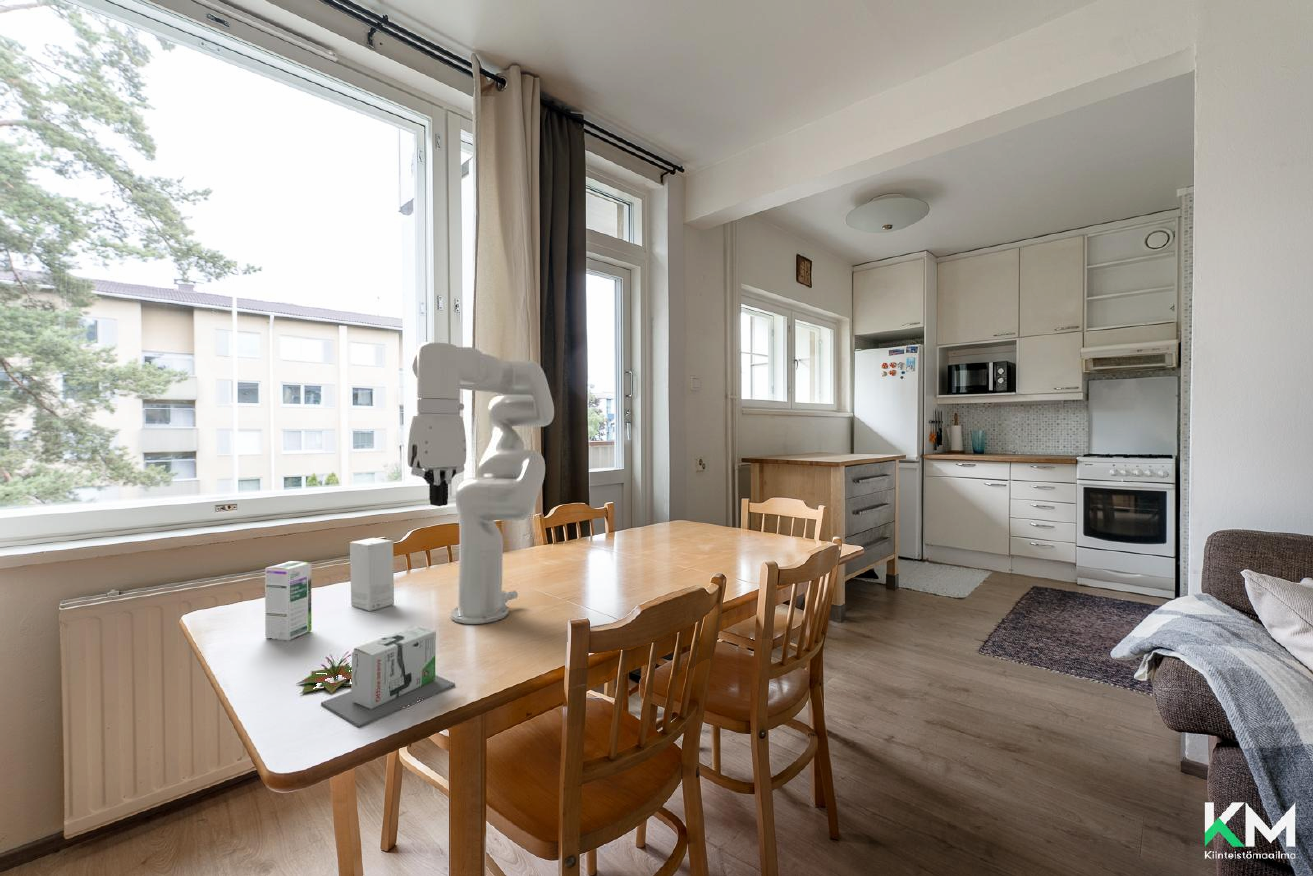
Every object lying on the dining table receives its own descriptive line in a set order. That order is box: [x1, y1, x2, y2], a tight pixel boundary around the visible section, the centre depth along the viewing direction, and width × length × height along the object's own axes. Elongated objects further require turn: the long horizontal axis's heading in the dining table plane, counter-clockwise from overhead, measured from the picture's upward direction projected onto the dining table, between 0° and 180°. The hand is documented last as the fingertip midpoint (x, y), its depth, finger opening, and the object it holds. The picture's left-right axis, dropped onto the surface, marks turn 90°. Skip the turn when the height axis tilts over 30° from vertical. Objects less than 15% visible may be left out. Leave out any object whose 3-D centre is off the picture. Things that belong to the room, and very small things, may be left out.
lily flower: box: [296, 651, 352, 695], centre depth 94 cm, size 12×12×5 cm
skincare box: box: [349, 537, 395, 612], centre depth 132 cm, size 8×7×16 cm
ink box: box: [350, 625, 437, 709], centre depth 89 cm, size 9×5×12 cm
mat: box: [320, 674, 456, 728], centre depth 89 cm, size 16×11×1 cm
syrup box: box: [264, 560, 312, 642], centre depth 113 cm, size 6×6×14 cm
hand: (438, 504), depth 105 cm, fingers closed
